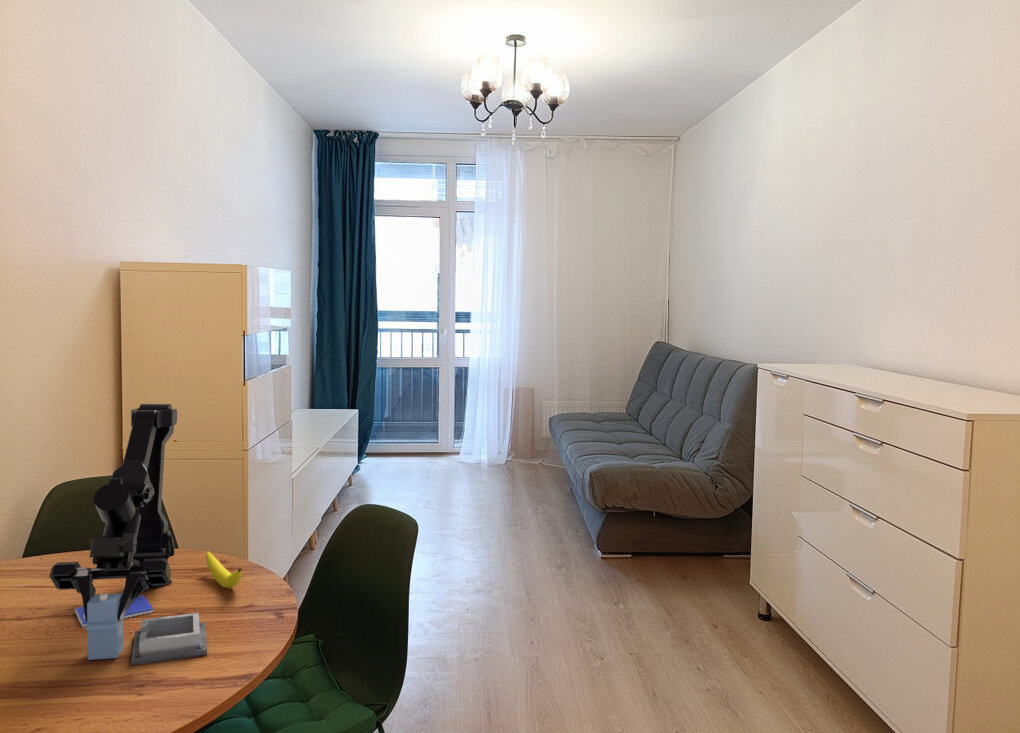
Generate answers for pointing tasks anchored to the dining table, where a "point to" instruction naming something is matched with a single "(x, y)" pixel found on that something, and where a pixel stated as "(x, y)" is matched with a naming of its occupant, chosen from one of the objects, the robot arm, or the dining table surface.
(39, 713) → the dining table surface
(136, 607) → the hard drive
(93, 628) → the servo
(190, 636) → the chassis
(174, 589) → the dining table surface
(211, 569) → the banana
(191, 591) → the dining table surface
